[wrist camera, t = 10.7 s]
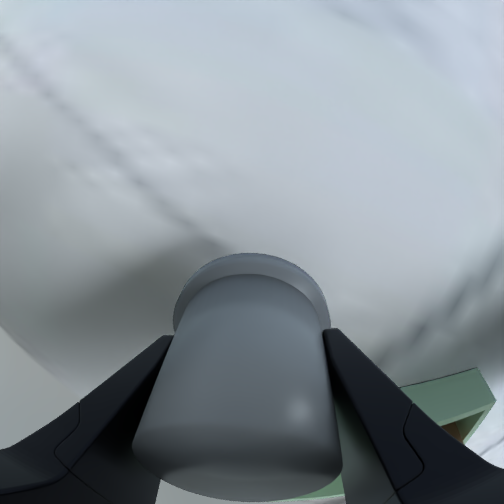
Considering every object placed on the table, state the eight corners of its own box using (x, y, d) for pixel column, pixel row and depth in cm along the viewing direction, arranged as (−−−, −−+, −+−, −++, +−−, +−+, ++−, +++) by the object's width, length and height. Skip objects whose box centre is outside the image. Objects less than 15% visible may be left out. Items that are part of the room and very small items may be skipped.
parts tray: (477, 367, 14) (496, 400, 11) (432, 444, 18) (440, 472, 15) (255, 403, 15) (252, 448, 12) (268, 470, 19) (267, 501, 16)
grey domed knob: (328, 246, 8) (383, 399, 3) (325, 368, 10) (341, 499, 5) (162, 259, 8) (74, 393, 4) (196, 372, 10) (163, 495, 6)
